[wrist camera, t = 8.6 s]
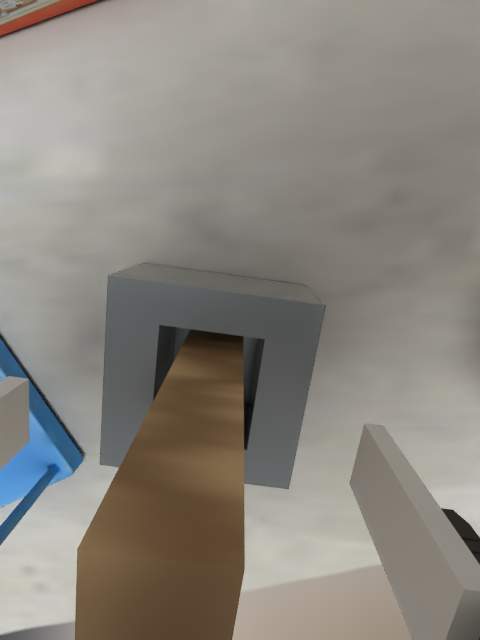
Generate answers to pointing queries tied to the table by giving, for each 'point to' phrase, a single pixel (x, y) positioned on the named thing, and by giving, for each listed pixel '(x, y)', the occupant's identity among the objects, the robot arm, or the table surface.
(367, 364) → the table surface
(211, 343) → the long wooden beam
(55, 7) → the cracker box
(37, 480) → the file sorter
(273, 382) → the grey square sleeve
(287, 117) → the table surface
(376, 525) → the robot arm
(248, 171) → the table surface
